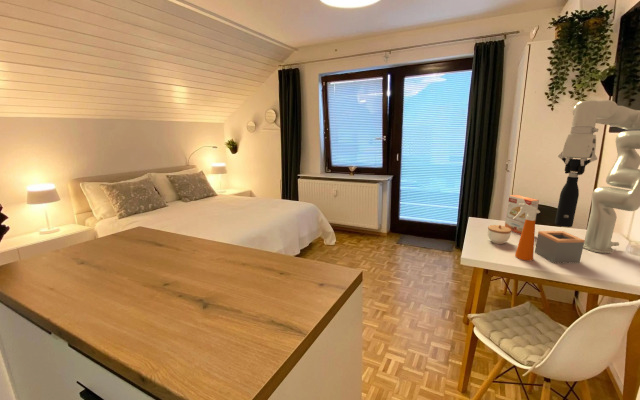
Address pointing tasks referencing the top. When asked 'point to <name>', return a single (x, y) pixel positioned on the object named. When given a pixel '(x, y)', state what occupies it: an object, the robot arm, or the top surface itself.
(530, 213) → the spray bottle
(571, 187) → the black water bottle
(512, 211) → the cracker box
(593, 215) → the robot arm
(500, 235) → the lidded jar
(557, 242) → the sleeve
